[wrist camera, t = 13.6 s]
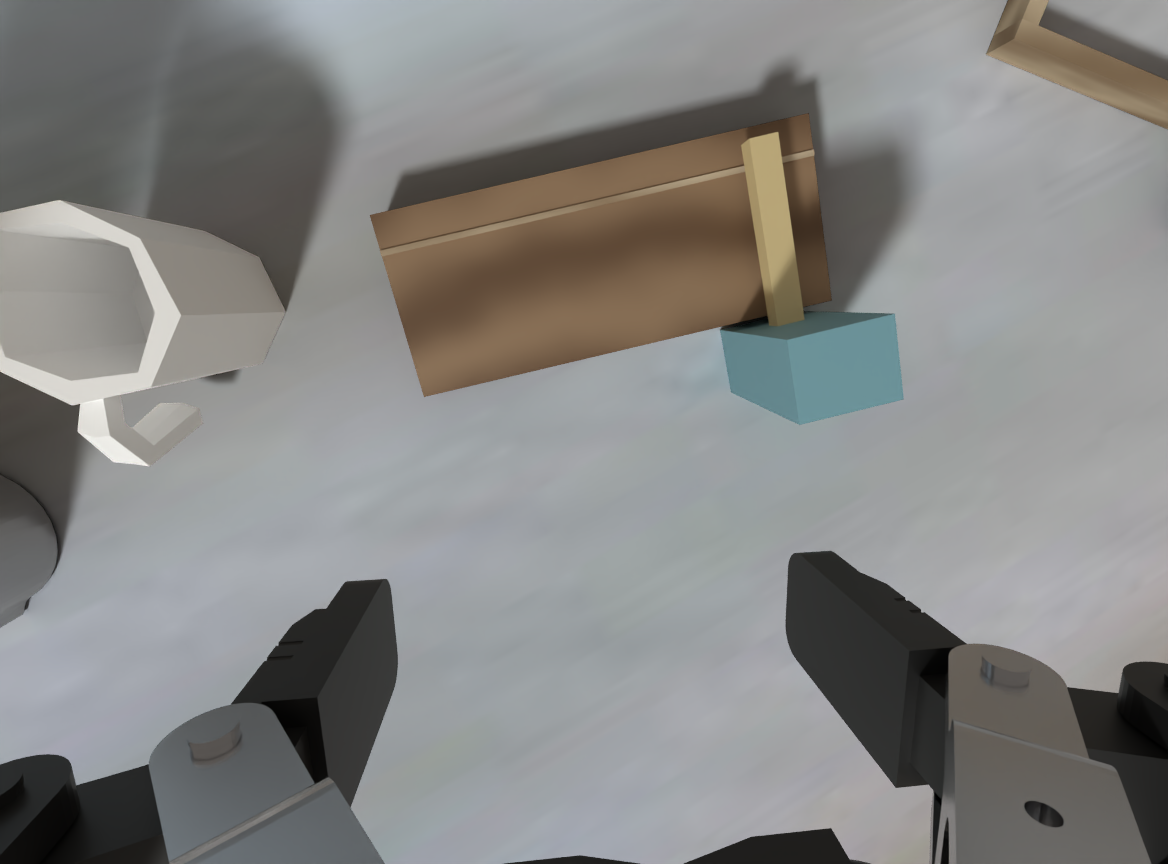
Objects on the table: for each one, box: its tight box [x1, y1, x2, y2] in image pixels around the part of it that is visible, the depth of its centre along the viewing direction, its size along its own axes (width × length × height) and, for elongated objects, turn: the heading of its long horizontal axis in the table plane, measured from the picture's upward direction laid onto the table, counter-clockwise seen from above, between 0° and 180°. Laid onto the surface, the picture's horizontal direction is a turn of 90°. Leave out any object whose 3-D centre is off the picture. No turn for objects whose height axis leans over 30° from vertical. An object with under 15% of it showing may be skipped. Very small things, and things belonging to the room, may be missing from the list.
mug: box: [0, 200, 286, 466], centre depth 29 cm, size 12×9×10 cm
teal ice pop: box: [720, 132, 904, 425], centre depth 30 cm, size 14×5×10 cm, turn 13°
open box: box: [370, 113, 832, 397], centre depth 33 cm, size 10×24×3 cm, turn 103°
